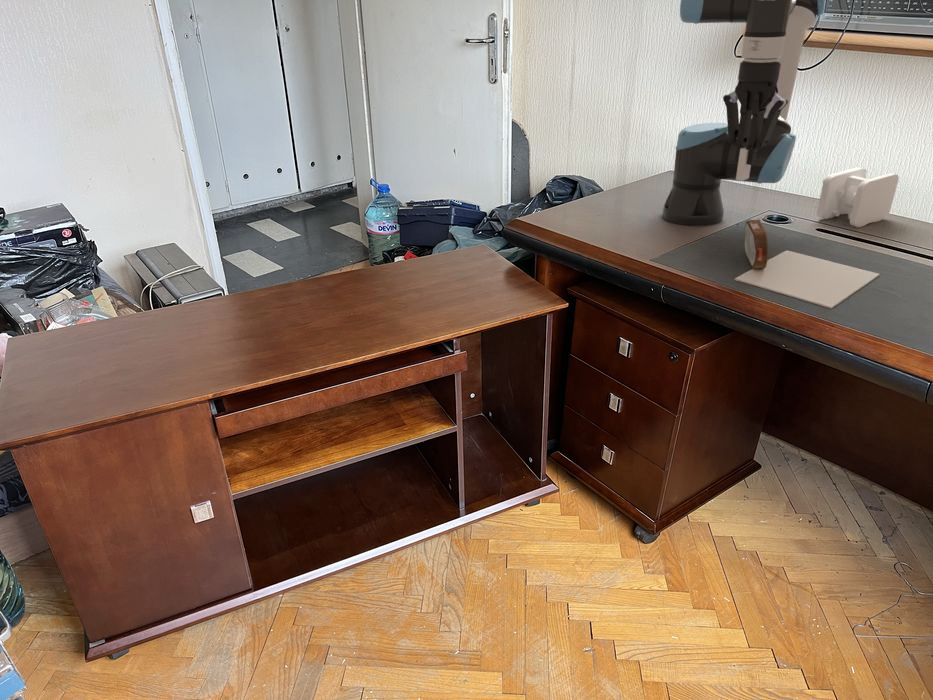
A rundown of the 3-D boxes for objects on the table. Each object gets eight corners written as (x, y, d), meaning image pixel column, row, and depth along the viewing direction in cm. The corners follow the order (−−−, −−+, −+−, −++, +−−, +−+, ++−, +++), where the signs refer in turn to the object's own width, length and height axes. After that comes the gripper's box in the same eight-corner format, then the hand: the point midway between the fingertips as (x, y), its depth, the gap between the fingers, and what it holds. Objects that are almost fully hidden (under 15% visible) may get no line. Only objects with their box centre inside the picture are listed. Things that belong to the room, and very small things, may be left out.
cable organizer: (851, 231, 165) (863, 184, 160) (812, 220, 173) (822, 174, 168) (889, 219, 171) (901, 173, 166) (849, 208, 180) (860, 164, 174)
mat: (734, 279, 144) (734, 278, 143) (786, 251, 156) (786, 250, 156) (831, 308, 130) (831, 307, 130) (879, 275, 142) (879, 274, 142)
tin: (766, 274, 144) (772, 235, 140) (750, 274, 145) (755, 235, 141) (755, 250, 157) (759, 214, 153) (740, 250, 158) (744, 214, 154)
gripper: (720, 59, 137) (705, 177, 148) (783, 63, 128) (762, 188, 139) (740, 55, 141) (724, 170, 152) (802, 59, 132) (780, 180, 144)
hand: (742, 178), depth 146 cm, fingers closed
